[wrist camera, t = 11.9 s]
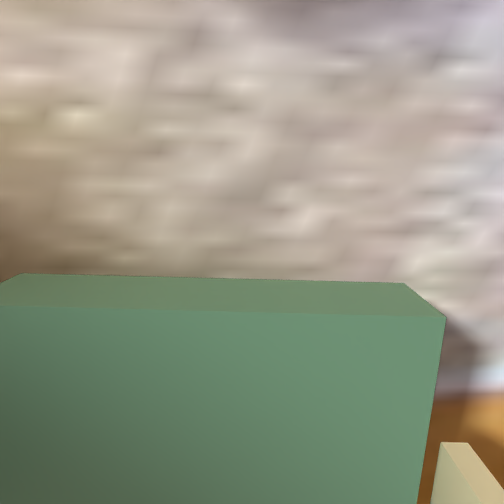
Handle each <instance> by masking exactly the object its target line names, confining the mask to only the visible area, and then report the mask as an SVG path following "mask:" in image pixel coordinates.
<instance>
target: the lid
mask: <svg viewBox="0 0 504 504" xmlns="http://www.w3.org/2000/svg"><path fill="white" fill-rule="evenodd" d="M445 323H446V316H444V315H443V314H442V313H441V312H439V311H438V310H437V309H436V308H434V307H433V306H432V305H431V304H429V303H428V302H427V301H426V300H424V299H423V298H422V297H421V296H419V295H418V294H417V293H416V292H414V291H413V290H412V289H411V288H409V287H408V286H407V285H406V284H404V283H382V282H343V281H304V280H265V279H226V278H188V277H149V276H110V275H71V274H32V273H21V274H19V275H17V276H14V277H12V278H10V279H8V280H6V281H4V282H1V283H0V504H417V498H418V492H419V486H420V479H421V473H422V467H423V461H424V454H425V448H426V442H427V436H428V429H429V423H430V417H431V411H432V405H433V398H434V392H435V386H436V380H437V373H438V367H439V361H440V355H441V348H442V342H443V336H444V330H445Z"/></svg>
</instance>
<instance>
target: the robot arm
mask: <svg viewBox="0 0 504 504" xmlns="http://www.w3.org/2000/svg"><path fill="white" fill-rule="evenodd" d="M430 504H504V489H503V488H502V487H501V485H500V484H499V483H498V482H497V480H496V479H495V478H494V476H493V475H492V474H491V472H490V471H489V470H488V468H487V467H486V466H485V465H484V463H483V462H482V461H481V459H480V458H479V457H478V455H477V454H476V453H475V451H474V450H473V449H472V448H471V446H470V445H469V444H468V443H459V442H441V443H440V448H439V454H438V460H437V466H436V472H435V478H434V484H433V490H432V496H431V502H430Z"/></svg>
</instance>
